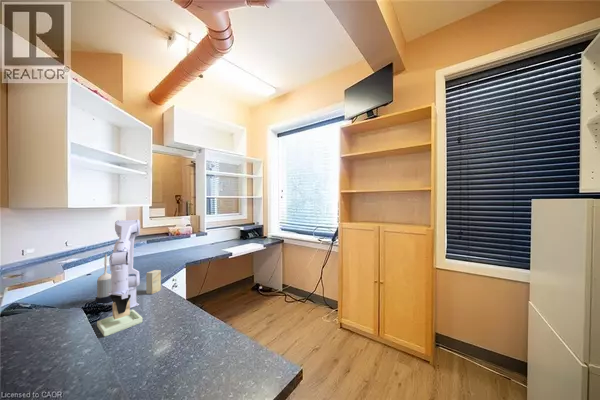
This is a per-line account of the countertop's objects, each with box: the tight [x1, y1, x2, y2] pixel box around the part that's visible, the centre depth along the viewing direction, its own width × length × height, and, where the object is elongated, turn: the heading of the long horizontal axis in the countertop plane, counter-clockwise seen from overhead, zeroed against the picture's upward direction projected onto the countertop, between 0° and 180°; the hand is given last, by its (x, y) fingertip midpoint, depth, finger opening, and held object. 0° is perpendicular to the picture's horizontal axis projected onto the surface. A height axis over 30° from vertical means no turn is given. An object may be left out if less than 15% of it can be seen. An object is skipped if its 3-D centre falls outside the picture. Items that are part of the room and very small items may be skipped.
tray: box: [96, 309, 144, 338], centre depth 93 cm, size 13×13×2 cm
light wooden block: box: [145, 269, 162, 295], centre depth 127 cm, size 6×4×12 cm
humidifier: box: [94, 254, 113, 304], centre depth 116 cm, size 8×8×25 cm
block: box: [112, 300, 131, 319], centre depth 93 cm, size 4×5×6 cm
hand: (120, 311), depth 93 cm, fingers closed on block, 4 cm apart
